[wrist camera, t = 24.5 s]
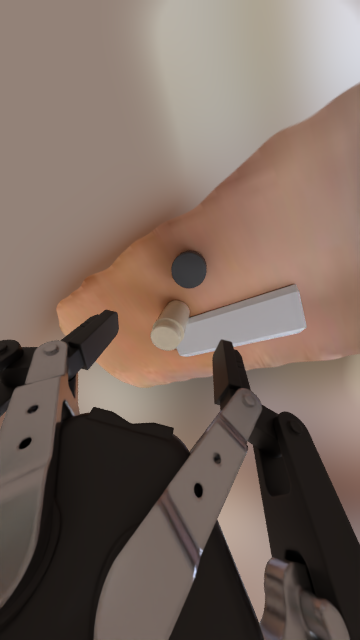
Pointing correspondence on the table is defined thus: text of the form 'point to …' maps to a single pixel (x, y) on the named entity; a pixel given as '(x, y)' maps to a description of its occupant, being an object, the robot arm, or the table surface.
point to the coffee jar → (170, 326)
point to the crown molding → (245, 322)
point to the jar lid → (189, 269)
